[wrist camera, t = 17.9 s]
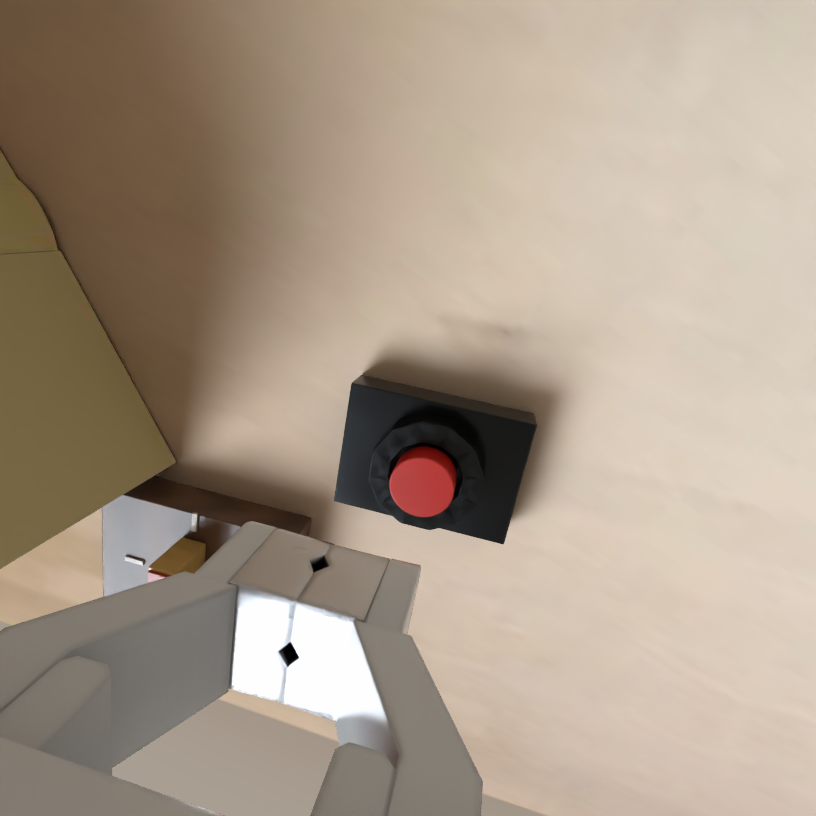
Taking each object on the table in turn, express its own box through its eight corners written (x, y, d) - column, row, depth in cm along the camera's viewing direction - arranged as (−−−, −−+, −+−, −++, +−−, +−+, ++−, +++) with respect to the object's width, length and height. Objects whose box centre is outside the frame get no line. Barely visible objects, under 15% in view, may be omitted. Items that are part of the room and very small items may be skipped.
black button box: (534, 413, 31) (539, 435, 27) (503, 526, 33) (503, 561, 30) (361, 374, 32) (342, 390, 28) (343, 486, 35) (324, 514, 31)
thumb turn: (202, 614, 36) (169, 653, 33) (178, 607, 36) (144, 646, 33) (206, 543, 34) (172, 576, 31) (181, 536, 34) (145, 568, 31)
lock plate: (311, 516, 36) (294, 540, 33) (296, 631, 39) (279, 662, 36) (131, 469, 37) (99, 488, 34) (130, 583, 41) (101, 609, 38)
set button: (462, 454, 29) (460, 466, 27) (449, 509, 30) (446, 524, 28) (400, 439, 29) (394, 450, 27) (390, 494, 30) (384, 508, 28)
